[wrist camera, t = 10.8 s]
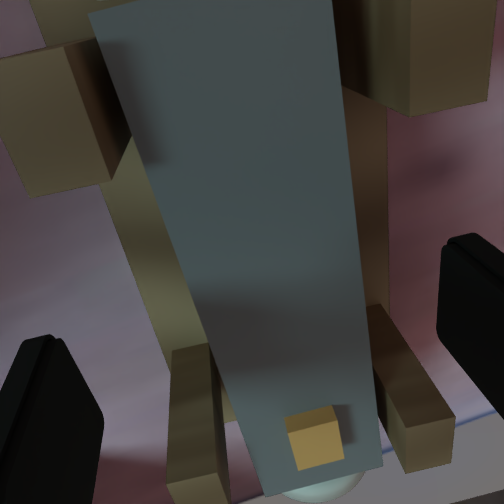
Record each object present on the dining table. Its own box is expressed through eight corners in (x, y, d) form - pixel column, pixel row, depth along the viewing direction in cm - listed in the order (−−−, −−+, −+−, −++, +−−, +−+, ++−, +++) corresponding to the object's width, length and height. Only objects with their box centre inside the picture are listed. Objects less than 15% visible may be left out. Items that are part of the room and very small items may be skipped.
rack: (17, -66, 12) (-169, -153, 6) (365, -135, 12) (553, -290, 6) (191, 410, 22) (193, 569, 16) (381, 367, 22) (456, 505, 16)
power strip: (96, -49, 11) (29, -94, 7) (271, -95, 11) (333, -173, 7) (252, 414, 21) (272, 536, 16) (347, 389, 21) (396, 503, 16)
